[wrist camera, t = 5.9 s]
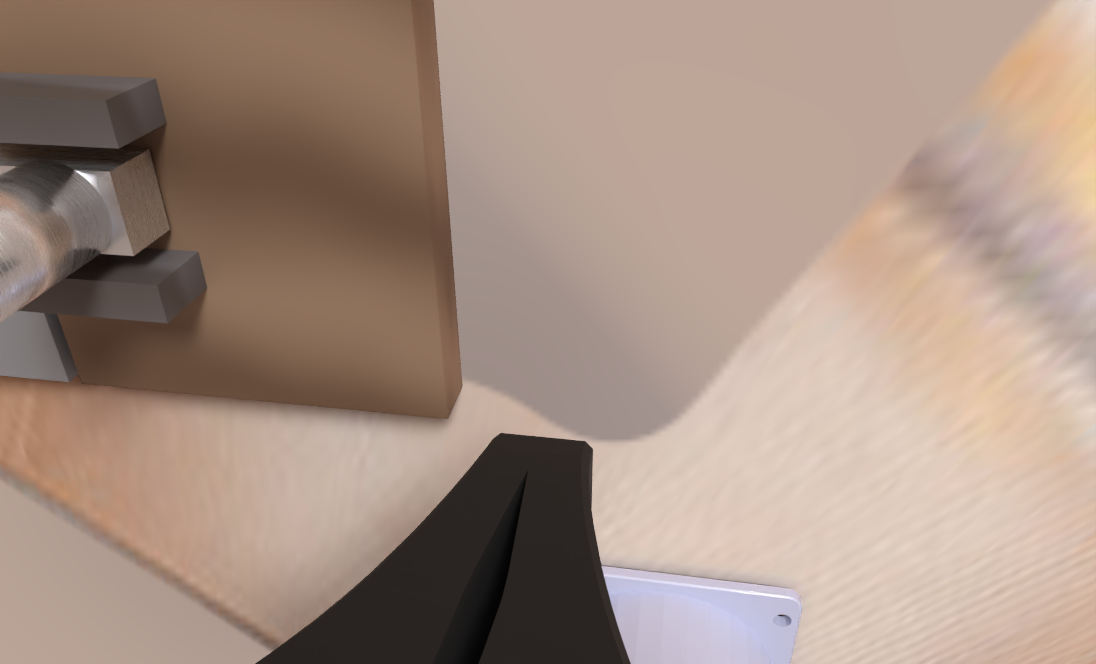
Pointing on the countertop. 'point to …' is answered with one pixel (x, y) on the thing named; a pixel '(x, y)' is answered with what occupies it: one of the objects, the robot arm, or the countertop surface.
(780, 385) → the countertop surface
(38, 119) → the door panel
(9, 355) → the jamb keeper
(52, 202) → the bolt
